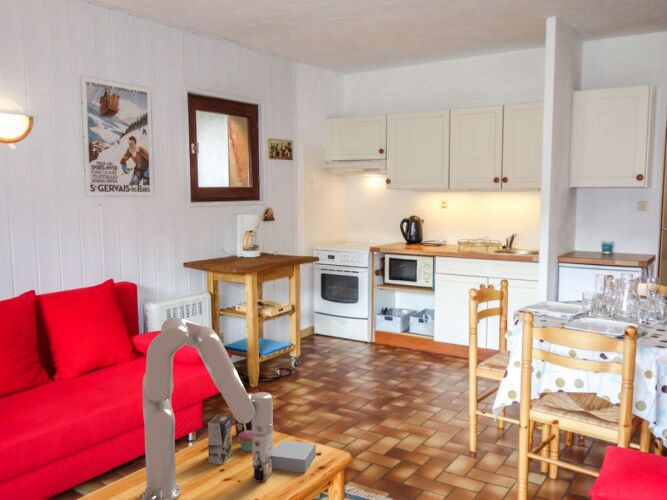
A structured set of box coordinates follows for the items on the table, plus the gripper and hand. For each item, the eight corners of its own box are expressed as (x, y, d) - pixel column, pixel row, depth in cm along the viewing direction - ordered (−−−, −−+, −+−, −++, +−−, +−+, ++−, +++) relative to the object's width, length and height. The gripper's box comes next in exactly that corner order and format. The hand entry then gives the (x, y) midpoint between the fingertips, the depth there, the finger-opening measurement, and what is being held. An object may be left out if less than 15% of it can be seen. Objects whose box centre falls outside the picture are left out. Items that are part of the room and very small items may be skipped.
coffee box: (224, 464, 222) (223, 423, 220) (208, 463, 223) (207, 422, 221) (232, 454, 231) (232, 414, 229) (217, 452, 232) (216, 413, 230)
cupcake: (233, 451, 233) (233, 422, 232) (243, 442, 241) (242, 414, 240) (253, 454, 230) (253, 424, 229) (262, 445, 238) (262, 416, 237)
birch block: (266, 481, 209) (266, 465, 208) (253, 480, 210) (253, 464, 210) (271, 475, 214) (271, 459, 213) (258, 473, 215) (258, 457, 214)
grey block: (305, 472, 216) (305, 459, 215) (269, 468, 219) (269, 455, 218) (315, 456, 229) (315, 443, 229) (281, 452, 232) (281, 440, 232)
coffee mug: (230, 435, 248) (229, 412, 247) (247, 429, 254) (246, 407, 253) (245, 444, 239) (244, 420, 238) (262, 438, 245) (262, 415, 244)
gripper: (263, 438, 201) (264, 488, 203) (280, 419, 218) (280, 465, 219) (243, 436, 203) (243, 485, 204) (261, 417, 219) (261, 463, 221)
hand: (262, 474), depth 212 cm, fingers open, 6 cm apart
